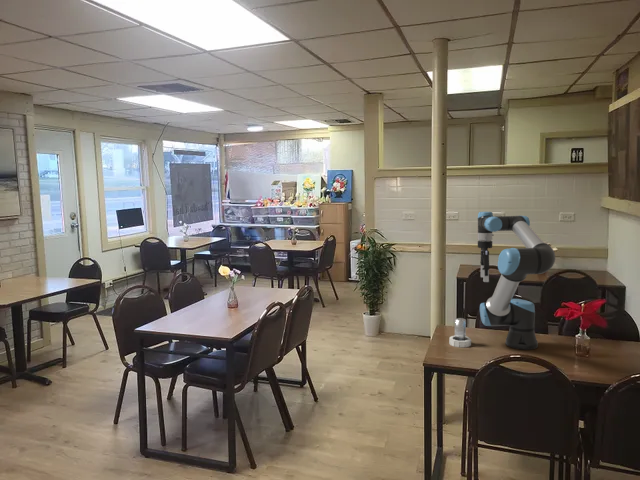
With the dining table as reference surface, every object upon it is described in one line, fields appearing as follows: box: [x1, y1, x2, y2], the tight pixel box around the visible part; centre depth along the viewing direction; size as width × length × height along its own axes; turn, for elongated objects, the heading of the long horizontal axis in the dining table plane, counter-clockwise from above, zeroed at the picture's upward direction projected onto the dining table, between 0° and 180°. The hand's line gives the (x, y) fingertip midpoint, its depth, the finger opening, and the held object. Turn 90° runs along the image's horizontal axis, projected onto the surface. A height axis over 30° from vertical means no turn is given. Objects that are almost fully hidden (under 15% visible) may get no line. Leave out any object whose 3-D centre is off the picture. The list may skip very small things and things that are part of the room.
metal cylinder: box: [454, 317, 467, 341], centre depth 249 cm, size 6×6×12 cm
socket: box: [449, 335, 472, 348], centre depth 250 cm, size 10×10×3 cm
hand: (484, 279), depth 261 cm, fingers open, 13 cm apart
